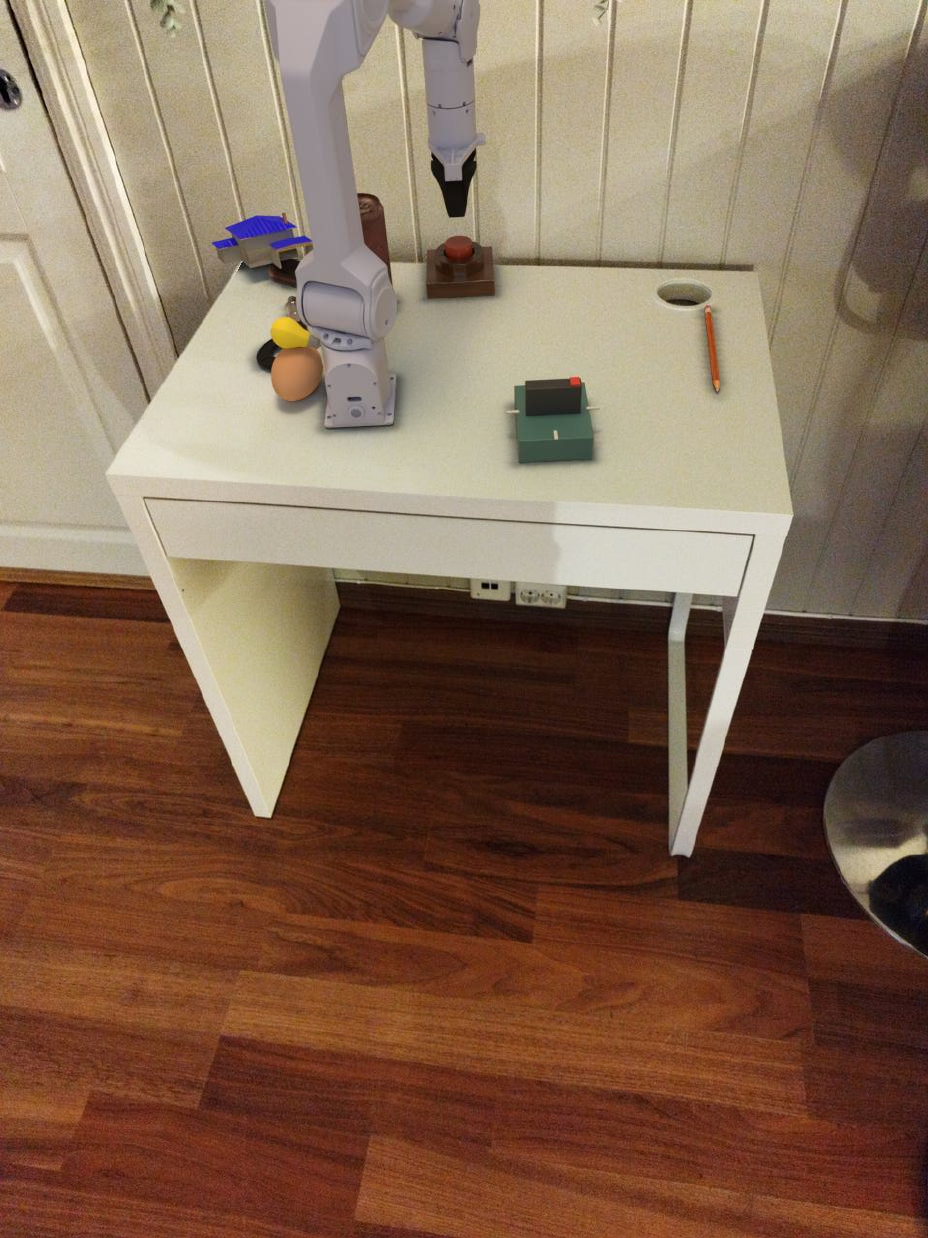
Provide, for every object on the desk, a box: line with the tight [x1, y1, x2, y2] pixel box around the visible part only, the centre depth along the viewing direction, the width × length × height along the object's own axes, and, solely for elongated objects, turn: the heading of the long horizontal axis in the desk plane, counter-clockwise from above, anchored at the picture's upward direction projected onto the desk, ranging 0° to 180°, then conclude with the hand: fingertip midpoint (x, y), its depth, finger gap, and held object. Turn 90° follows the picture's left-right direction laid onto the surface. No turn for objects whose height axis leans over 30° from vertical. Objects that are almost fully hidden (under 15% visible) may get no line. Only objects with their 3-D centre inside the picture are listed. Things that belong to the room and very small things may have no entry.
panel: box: [506, 381, 600, 463], centre depth 105 cm, size 10×10×3 cm
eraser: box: [268, 258, 301, 287], centre depth 129 cm, size 11×4×2 cm, turn 61°
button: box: [444, 235, 473, 260], centre depth 125 cm, size 4×4×2 cm
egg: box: [270, 346, 324, 402], centre depth 111 cm, size 6×6×8 cm
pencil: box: [704, 304, 721, 392], centre depth 114 cm, size 1×18×1 cm, turn 174°
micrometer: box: [255, 295, 309, 370], centre depth 120 cm, size 15×7×2 cm, turn 14°
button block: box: [425, 240, 496, 299], centre depth 127 cm, size 9×9×4 cm
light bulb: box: [270, 316, 321, 350], centre depth 108 cm, size 3×6×4 cm
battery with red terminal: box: [524, 376, 582, 416], centre depth 102 cm, size 6×2×4 cm, turn 91°
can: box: [357, 192, 394, 287], centre depth 120 cm, size 6×6×14 cm
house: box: [210, 212, 313, 269], centre depth 130 cm, size 11×14×6 cm
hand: (456, 211), depth 121 cm, fingers closed
